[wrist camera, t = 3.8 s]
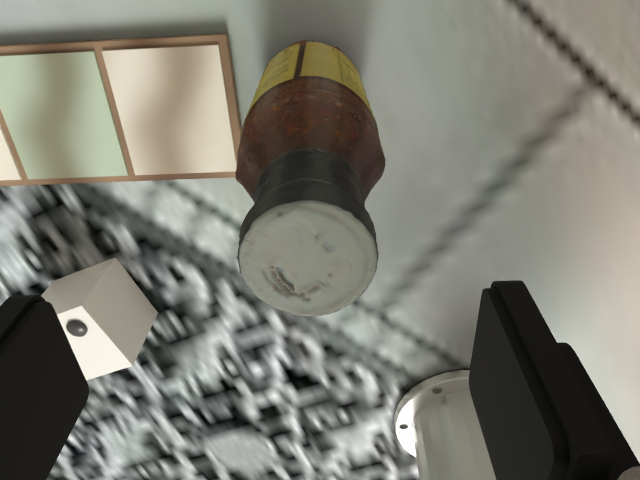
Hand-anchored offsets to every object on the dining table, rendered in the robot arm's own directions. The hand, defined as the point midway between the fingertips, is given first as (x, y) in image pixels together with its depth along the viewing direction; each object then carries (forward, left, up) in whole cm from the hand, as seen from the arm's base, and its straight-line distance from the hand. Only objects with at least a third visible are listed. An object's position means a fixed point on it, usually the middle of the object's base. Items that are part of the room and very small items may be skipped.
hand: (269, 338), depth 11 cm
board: (+16, +1, -23) cm, 28 cm away
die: (+18, +16, -23) cm, 34 cm away
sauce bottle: (0, 0, -23) cm, 23 cm away
